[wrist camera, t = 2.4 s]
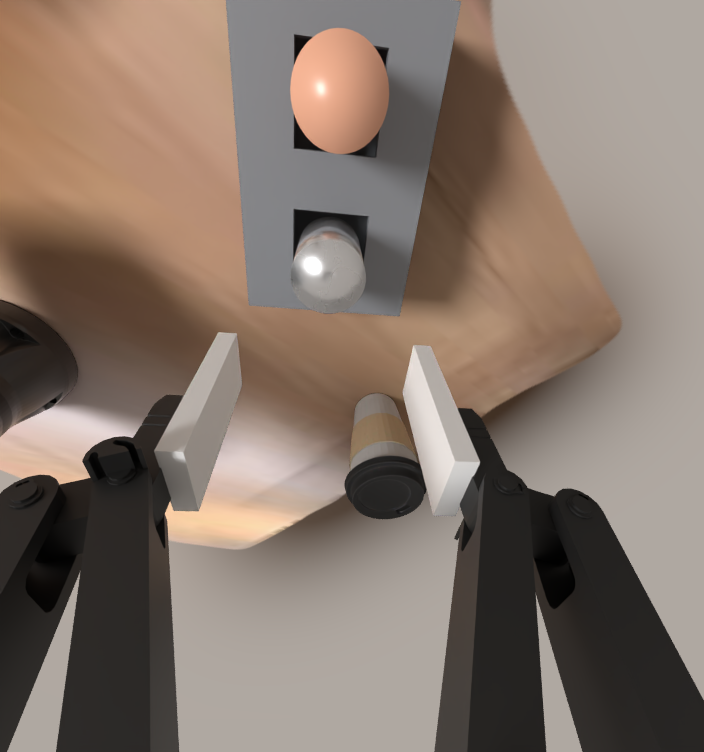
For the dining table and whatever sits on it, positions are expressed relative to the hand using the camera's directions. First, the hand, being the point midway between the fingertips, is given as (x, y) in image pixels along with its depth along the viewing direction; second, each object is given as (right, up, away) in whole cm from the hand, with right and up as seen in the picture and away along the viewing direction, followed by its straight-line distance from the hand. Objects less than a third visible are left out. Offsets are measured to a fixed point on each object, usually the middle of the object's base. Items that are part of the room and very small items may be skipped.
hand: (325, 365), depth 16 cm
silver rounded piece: (-1, +10, +14) cm, 18 cm away
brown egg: (0, +18, +9) cm, 20 cm away
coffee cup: (+5, -5, +35) cm, 36 cm away
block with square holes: (-1, +19, +17) cm, 26 cm away
